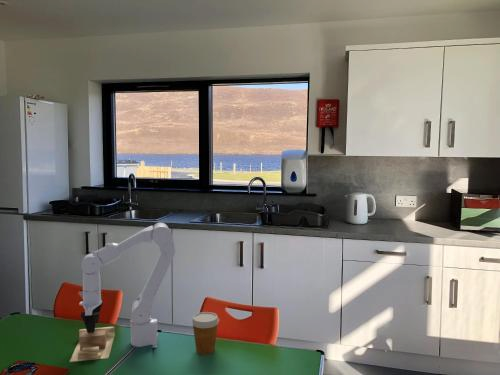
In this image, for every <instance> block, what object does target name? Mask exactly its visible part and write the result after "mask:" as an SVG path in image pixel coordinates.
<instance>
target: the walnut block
mask: <svg viewBox="0 0 500 375" xmlns="http://www.w3.org/2000/svg"><path fill="white" fill-rule="evenodd" d="M106 344H107V342H106V330H101V331H94V333H87V332H82V333H81V336H80V351H82V349H83V348H87V347H97V346H99V350H101V349H105V347H106Z"/></svg>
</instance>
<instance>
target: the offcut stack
mask: <svg viewBox="0 0 500 375" xmlns="http://www.w3.org/2000/svg"><path fill="white" fill-rule="evenodd" d="M98 358H101V352H100V353H99V346H97V347H87V348H83V349H82V351H79V353H78V360H84V361H89V360H88V359H94V360H99V359H98Z"/></svg>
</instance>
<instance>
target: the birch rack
mask: <svg viewBox="0 0 500 375" xmlns="http://www.w3.org/2000/svg"><path fill="white" fill-rule="evenodd" d="M101 330H106V342H107V344H106V347H105V349H101V350H99V353H100V352H101V358H98V359H97V360H100V359H109V357H110V354H111V350H112V346H113V343H114V339H115V326H105V327H103V326H102V327H95V331H101ZM82 332H87V330H86V328H81V329H79V330H78V335H79V336H78V337H79V338H78V339H79V340H78V342H77V344H76V346H75V348H74V350H73V353H72V355H71V357H70V359H69V363H72V362H73V363H74V362H82V361H85V360H78V353H79V351H80V336H81V333H82ZM91 360H93V361H95V359H88V360H87V361H91Z"/></svg>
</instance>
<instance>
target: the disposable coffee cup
mask: <svg viewBox="0 0 500 375" xmlns="http://www.w3.org/2000/svg"><path fill="white" fill-rule="evenodd" d="M219 322H220V318H219V317H218V315H217V313H215V312H211V311H210V312H209V311H202V312H198V313H196V314H194V315H193V316H192V319H191V324H192V329H193V336H194V342H195V351H196V353H197V354H199V355H211V354H212V353H214V352H215V350H216V342H217V341H216V339H217V332H218V324H219Z"/></svg>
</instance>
